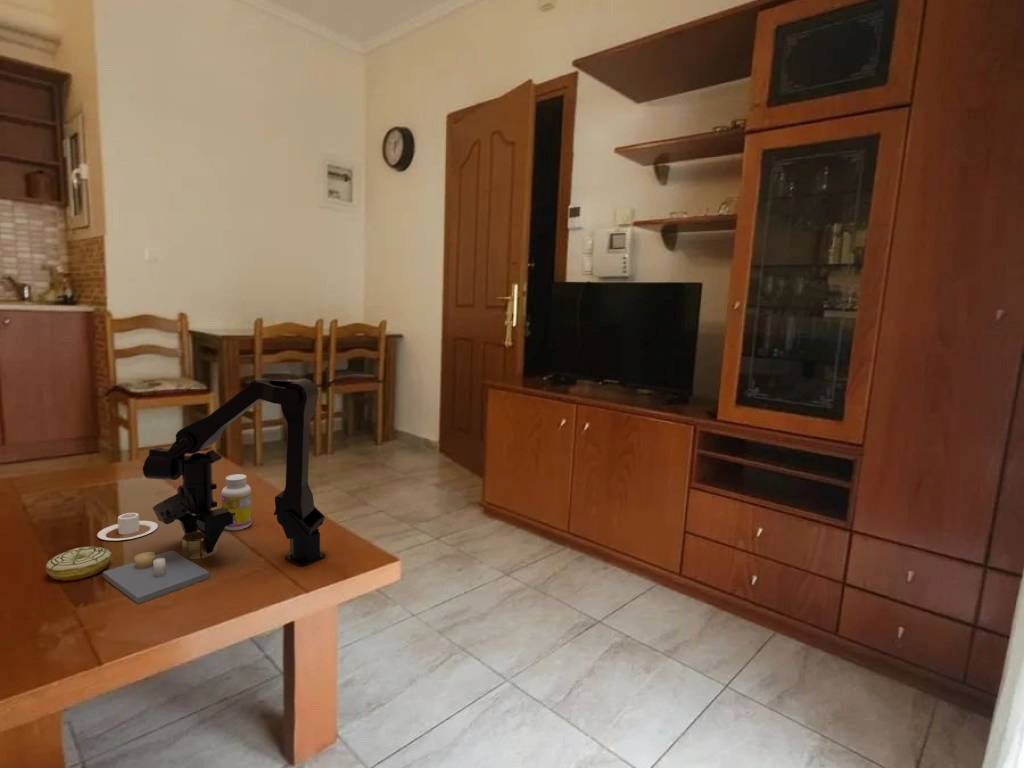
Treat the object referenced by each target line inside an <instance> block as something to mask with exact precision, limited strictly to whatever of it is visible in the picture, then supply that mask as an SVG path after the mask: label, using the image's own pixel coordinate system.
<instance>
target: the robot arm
mask: <svg viewBox="0 0 1024 768" xmlns="http://www.w3.org/2000/svg"><path fill="white" fill-rule="evenodd" d="M318 398H319V389H318V386H316V385H315V383H314V382H312V381H311V380H307V379H300V380H297V381H292V380H291V381H290V380H275V379H270V378H269V379H268V378H264V377H263V378H257V379H255V380H254V379H253V380H251V381H250V382H249V383H248V385H247V386H246V387H244V388H243V389H241V390H240V391H239V392H238V393H237V394H235V395H234V396H233V397H231V398H230V399H228V401H226V402H225V403H224V404H222V405H221V406H220V407H218V408H217V409H215V410H214V411H213V412H212V413H210V414H209V415H208V416H206V417H204V418H203V417H202V419H199V420H197V421H195V422H192V423H191V424H189V425H186V426H185V427H183V428H181V429H179V430H177V432H176V434H175V441H174V442H173V444H172V445H171V446H170V448H162V447H154V448H150V449H149V451H148V456H146V459H144V464H143V466H142V473H143V475H144V477H145V478H146V479H150V480H168V481H176V480H179V478H182V480H181V481H182V484H181V485H178V487H177V493H175V495H172V496H170V497H167V498H166V499H164V500H162V501H160V502H159V503H157V504H155V505H154V506H153V507H152V509H153V512H154V514H155V516H156V518H157V520H158V521H159V522H162V523H163V524H165V525H170V524H172V523H173V522H175V520H176V521H179V524H180V526H181V528H182V530H183V532H184V533H183V534H184V535H185V534H187V533H190V532H193V531H197V530H198V531H201V532H202V534H203V540H204V545H205V550H206V553H207V554H208V553H211V552H212V551H213V549H214V547H215V545H216V543H217V544H218V541H219V539H220V537H221V535H222V534H223V532H224V530H225V529H224V528H225V527H226V526H228V525H230V524H233V523H234V514H232V513H231V512H229V511H227V510H225V509H223V508H222V507H219V508H216V507H218V502H217V501H216V500H214V491H213V490H216V489H218V487H217V485H218V484H217V483H214V482H213V464H214V463H216V462H218V461H221V460H222V459H223V457H222V456H221V454H219V453H217V452H216V451H215V450H214V449H211V450H209V451H207V452H200V451H202V450H205V449H206V448H208V447H211V446H212V445H214V443H216V441H217V440H218V439H219V438H220V437H221V436H222V435H223V433H224V431H225V429H226V428H227V427H228V426H229V425H231V424H232V423H234V421H236V420H237V419H238V418H239V417H241V416H242V415H243V414H245V413H246V412H248V411H249V410H251V409H252V408H253V407H254V406H256V404H258V403H260V402H261V401H262V400H263V401H265V402H269V403H271V404H277V405H280V408H281V413H282V415H283V417H284V419H285V422H286V455H285V456H286V457H285V458H286V459H285V460H286V461H285V486H284V489H283V490H282V491H281V492H280V493H278V494H277V495H276V496H275V497H274V503H275V504H274V505H275V506H274V507H275V510H274V513H273V516H276V521H277V524H279V525H280V526H281V527H282V529H283V532H284V535H285V537H286V539H287V540H288V539H289V542H290V545H289V546H290V547H289V548H290V549H289V551H290V553H289V554H286V555H284V559H285V560H287V561H289V562H291V563H293V564H295V565H297V566H299V567H305V566H307V565H310V564H311V563H314V562H316V561H318V560H322V559H324V558H326V557H327V554H326V553H324V552H323V551H322V552H321V532H319V531H320V529H319V528H320V527H321V526H322V525H323V524H324V521H325V519H326V516H325V515H324V514H323V513H322V512H321V511H320V510H319V509H318V508H317V507H316V506H315V502H314V496H313V495H314V494H313V492H312V490H311V488H310V486H309V464H310V463H309V462H310V461H309V459H310V457H309V456H310V431H311V430H310V429H311V428H310V427H311V420H312V418H313V416H314V413H315V411H316V408H317V403H318ZM187 454H190V455H187ZM181 476H182V477H181ZM213 508H216V509H213Z"/></svg>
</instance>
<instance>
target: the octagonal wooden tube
mask: <svg viewBox="0 0 1024 768" xmlns="http://www.w3.org/2000/svg"><path fill="white" fill-rule="evenodd" d="M181 546H182V547H181V548H182V550H181V551H182V556H183V557H184V558H186V559H188V560H199V559H204V558H208V557H211V556H213V555H214V554H215V553H216V552H217V551H218V542H217V543H216V545H215V547H214V549H213V551H212V552H211V553H208V554H207V553H206V550H205V545H204V540H203V534H202V532H201V531H199V530H197V531H193V532H190V533H187V534H185V533H184V535H183V536H182V537H181Z"/></svg>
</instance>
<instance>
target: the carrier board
mask: <svg viewBox="0 0 1024 768" xmlns="http://www.w3.org/2000/svg"><path fill="white" fill-rule="evenodd" d="M133 560H134V562H130V563H127V564H124V565H120V566H117V567H114V568H111V569H108V570H105V571H103V572H102V578H103V579H105V581H107V582H108V583H110V584H111V585H113V586H114V587H115V588H116V589H118V591H120V592H121V593H123V595H126V596H127V597H128V598H129V599H131V600H132V601H133V602H135V603H136V604H138V605H140V604H142V603H145V602H147V601H150V600H154V599H156V598H159V597H161V596H164V595H167V594H169V593H172V592H175V591H177V590H180V589H183V588H185V587H188V586H191V585H194V584H196V583H199V582H202V581H205V580H208V579H210V577H211V576H210V575H211V574H210V572H209V571H208V570H206V568H202V567H201V566H200V565H198V564H196V563H194V562H193V561H191V560H190V559H187V558H185V557H184V556H183V555H180V554H179V553H177V552H176V551H174V550H168V551H165V552H162V553H158V554H156V553H155V552H154V551H147V552H146V551H145V552H142V553H138V554H136V555H134V559H133Z"/></svg>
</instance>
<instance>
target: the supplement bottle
mask: <svg viewBox="0 0 1024 768" xmlns="http://www.w3.org/2000/svg"><path fill="white" fill-rule="evenodd" d="M247 477H248V476H247V475H246V474H244V473H243V474H242V473H241V474H239V473H236V474H230V475H228V476H226V477H225V484H226V485H225V486H224V487H223V488H222V489H221V508H223V509H225V510H227V511H229V512H231V513H232V514H234V523H233V524H230V525H228V526H226V527H225V528H224V530H226V531H242V530H244V528H245V529H247V528H248V527H250V526H251V525H252V522H253V521H252V519H253V518H252V514H253V512H252V488H251V486H250V485H249V484H247V480H248V479H247Z"/></svg>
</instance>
